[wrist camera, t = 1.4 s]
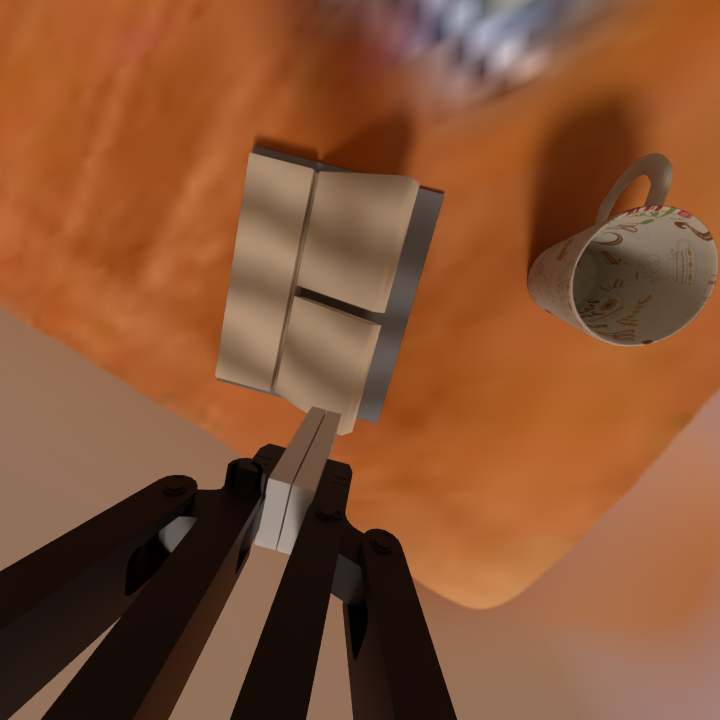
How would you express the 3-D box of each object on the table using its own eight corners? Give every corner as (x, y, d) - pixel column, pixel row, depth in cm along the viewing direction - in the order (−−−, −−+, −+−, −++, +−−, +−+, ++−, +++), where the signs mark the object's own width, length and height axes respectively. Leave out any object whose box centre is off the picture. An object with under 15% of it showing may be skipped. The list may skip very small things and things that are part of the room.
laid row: (254, 146, 30) (245, 137, 28) (443, 195, 29) (447, 189, 28) (218, 379, 35) (208, 384, 33) (377, 422, 35) (376, 430, 33)
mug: (501, 314, 31) (551, 331, 22) (546, 166, 28) (628, 108, 19) (591, 333, 31) (683, 359, 21) (647, 185, 28) (783, 137, 18)
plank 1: (331, 178, 29) (319, 171, 28) (420, 183, 24) (409, 175, 23) (308, 287, 32) (296, 284, 31) (384, 313, 27) (373, 311, 25)
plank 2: (306, 297, 32) (294, 295, 31) (381, 325, 27) (369, 324, 26) (287, 390, 34) (274, 391, 33) (352, 432, 29) (340, 435, 28)
